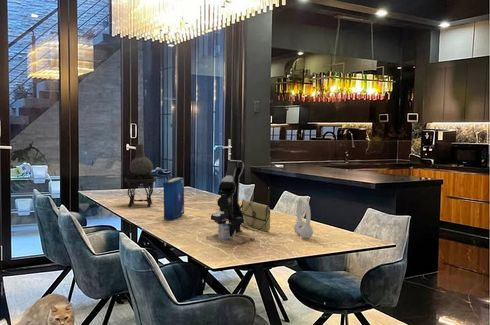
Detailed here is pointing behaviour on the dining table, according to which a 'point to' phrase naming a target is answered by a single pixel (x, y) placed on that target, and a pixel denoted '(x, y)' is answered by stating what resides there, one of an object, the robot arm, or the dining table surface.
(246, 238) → the offcut top
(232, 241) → the block
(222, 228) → the medicine box
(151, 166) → the brazier
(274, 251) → the dining table surface
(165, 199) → the book
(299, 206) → the headphones
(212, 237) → the light wood flat frame
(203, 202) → the dining table surface
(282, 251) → the dining table surface
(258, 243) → the dining table surface
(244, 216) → the clutch purse
